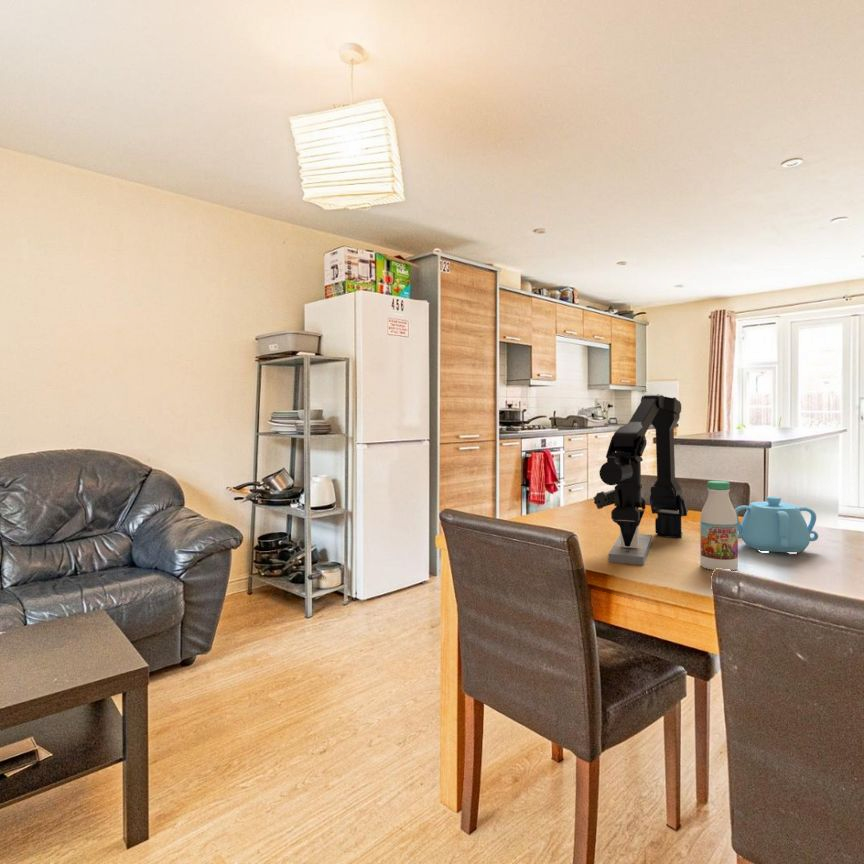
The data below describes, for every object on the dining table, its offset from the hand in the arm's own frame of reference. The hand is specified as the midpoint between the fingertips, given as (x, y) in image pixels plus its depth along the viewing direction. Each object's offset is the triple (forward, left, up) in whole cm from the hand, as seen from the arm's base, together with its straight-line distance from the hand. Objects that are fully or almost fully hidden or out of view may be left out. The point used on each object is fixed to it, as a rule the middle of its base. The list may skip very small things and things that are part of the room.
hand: (629, 542), depth 141 cm
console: (0, -4, -3) cm, 5 cm away
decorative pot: (-33, -18, -4) cm, 38 cm away
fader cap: (0, 0, -1) cm, 1 cm away
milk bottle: (-20, +4, -4) cm, 21 cm away
